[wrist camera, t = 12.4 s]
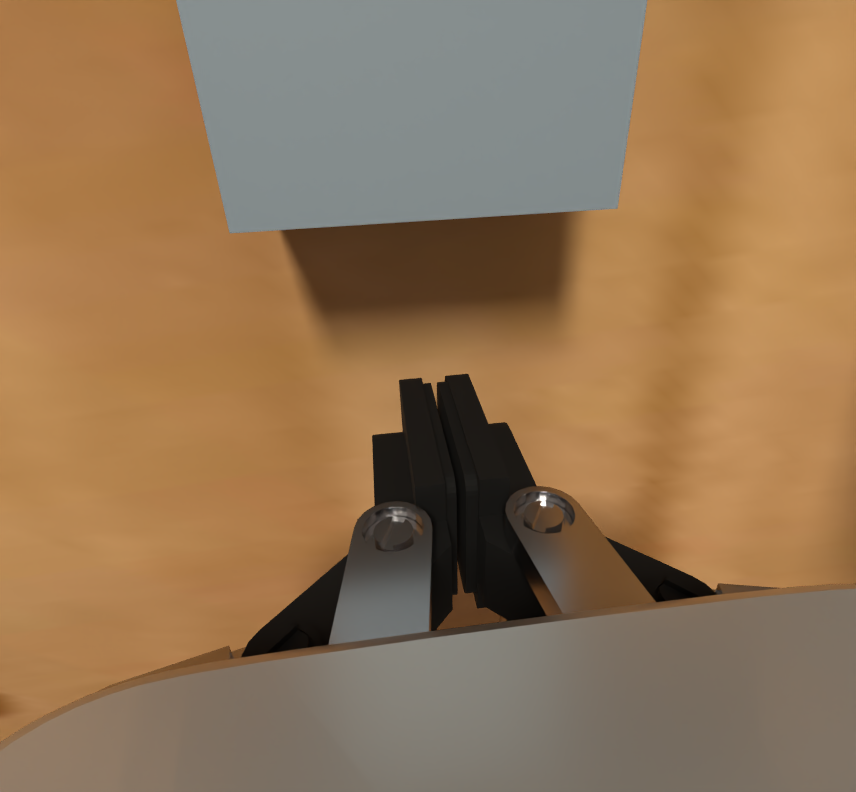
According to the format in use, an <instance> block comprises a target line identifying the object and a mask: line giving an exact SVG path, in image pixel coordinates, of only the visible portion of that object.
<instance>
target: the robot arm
mask: <svg viewBox="0 0 856 792" xmlns="http://www.w3.org/2000/svg"><path fill="white" fill-rule="evenodd" d="M399 387H400V400H401V414H402V427H403V432H399V433H389V434H378V435H372V442H373V470H374V498H375V506H374V507H372V508H370V509H369V510H367V511H366V512H364V513H363V514H362V516H361V517H360V518H359V519H358V520H357V523H356V525H355V527H354V531H353V535H352V540H351V544H350V549H349V553H348V555H347V556H345V557H344V558H343V559H342V560H341V561H340V562H338V563H337V564H336V565H335V566H334V567H333V568H331V569H330V570H329V571H328V572H327V573H326V574H324V575H323V576H322V577H321V578H320V579H319V580H317V581H316V582H315V583H314V584H313V585H312V586H310V587H309V588H308V589H307V590H306V591H305V592H303V593H302V594H301V595H300V596H299V597H298V598H296V599H295V600H294V601H293V602H292V603H291V604H289V605H288V606H287V607H286V608H285V609H284V610H282V611H281V612H280V613H279V614H278V615H277V616H276V617H274V618H273V619H272V620H271V621H270V622H269V623H267V624H266V625H265V626H264V627H263V628H262V629H260V630H259V631H258V632H257V633H256V635H255V636H254V637H253V638H252V639H251V640H250V641H249V642H248V644H247V646H246V647H244V648H241V649H238V650H235V651H232V652H231V650H230V647H229V646H226V647H223V648H220V649H217V650H214V651H211V652H208V653H205V654H202V655H199V656H196V657H193V658H190V659H187V660H184V661H181V662H178V663H175V664H172V665H169V666H166V667H163V668H160V669H157V670H154V671H151V672H148V673H145V674H142V675H139V676H136V677H133V678H130V679H127V680H124V681H121V682H118V683H115V684H112V685H110V686H108V687H105V688H103V689H101V690H99V691H97V692H95V693H93V694H90V695H87V696H85V697H83V698H81V699H79V700H76V701H74V702H72V703H70V704H68V705H66V706H64V707H61V708H59V709H57V710H55V711H53V712H51V713H49V714H46V715H44V716H43V717H41V718H39V719H37V720H36V721H34V722H32V723H30V724H28V725H27V726H25V727H23V728H22V729H20V730H18V731H17V732H15V733H14V734H12V735H10V736H9V737H7V738H6V739H4V740H3V741H1V742H0V792H856V584H827V585H815V586H798V587H787V588H773V587H759V586H746V585H733V584H720V583H718V585H717V588H716V590H713V589H711V588H710V587H709V586H707V585H706V584H705V583H703V582H702V581H700V580H698V579H696V578H694V577H693V576H691V575H688V574H686V573H684V572H682V571H680V570H677V569H675V568H673V567H671V566H669V565H666V564H664V563H662V562H660V561H657V560H655V559H653V558H651V557H649V556H646V555H644V554H642V553H640V552H638V551H635V550H633V549H631V548H629V547H626V546H624V545H622V544H620V543H618V542H615V541H613V540H611V539H609V538H606V537H605V536H604V535H603V534H602V533H601V531H600V530H599V529H598V527H597V526H596V525H595V524H594V522H593V521H592V520H591V519H590V517H589V516H588V515H587V513H586V512H585V511H584V510H583V508H582V507H581V506H580V505H579V503H578V502H577V501H576V500H575V499H573V498H572V497H571V496H570V495H568V494H566V493H564V492H563V491H560V490H557V489H554V488H551V487H543V486H536V484H535V481H534V479H533V477H532V475H531V473H530V471H529V469H528V466H527V464H526V462H525V460H524V458H523V456H522V454H521V451H520V449H519V447H518V445H517V443H516V441H515V439H514V436H513V434H512V432H511V430H510V428H509V426H508V424H507V423H505V422H504V423H493V424H488V422H487V419H486V417H485V414H484V412H483V410H482V407H481V405H480V402H479V400H478V397H477V395H476V392H475V390H474V387H473V385H472V382H471V380H470V377H469V375H468V374H462V375H450V376H445V382H437V405H438V409H437V405H436V402H435V398H434V394H433V390H432V386H431V383H425V384H423V382H422V378H416V379H404V380H399ZM457 561H458V565H459V570H460V575H461V579H462V584H463V589H464V592H465V593H472V592H473V593H474V597H475V601H476V605H477V608H484V607H487V608H489V609H490V610H492V611H494V612H495V613H497V614H499V615H500V618H499V622H497V623H489V624H481V625H474V626H466V627H458V628H451V629H443V630H437V627H438V626H439V625H440V624H441V623H442V622H443V620H444V619H445V618H446V617H447V616H448V614H449V613H450V612H451V611H452V610H453V607H452V595H456V594H457V591H458V589H457Z"/></svg>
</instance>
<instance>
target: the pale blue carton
mask: <svg viewBox="0 0 856 792" xmlns="http://www.w3.org/2000/svg"><path fill="white" fill-rule="evenodd" d="M176 1H177V6H178V10H179V14H180V19H181V23H182V27H183V32H184V36H185V41H186V45H187V49H188V54H189V58H190V62H191V67H192V71H193V75H194V80H195V84H196V88H197V93H198V97H199V101H200V106H201V110H202V114H203V119H204V123H205V128H206V132H207V136H208V141H209V145H210V149H211V154H212V158H213V162H214V167H215V171H216V175H217V180H218V184H219V188H220V193H221V197H222V202H223V206H224V210H225V215H226V219H227V223H228V228H229V232H230V233H242V232H258V231H273V230H289V229H305V228H320V227H336V226H352V225H367V224H383V223H399V222H414V221H430V220H445V219H461V218H477V217H492V216H508V215H524V214H539V213H555V212H571V211H586V210H602V209H617V208H618V201H619V194H620V187H621V180H622V173H623V166H624V159H625V152H626V145H627V138H628V131H629V124H630V117H631V110H632V103H633V96H634V89H635V82H636V75H637V68H638V61H639V54H640V47H641V40H642V33H643V26H644V19H645V12H646V5H647V0H176Z"/></svg>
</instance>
